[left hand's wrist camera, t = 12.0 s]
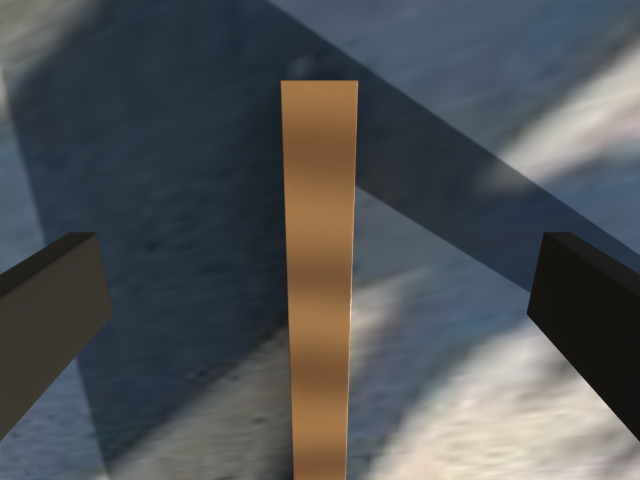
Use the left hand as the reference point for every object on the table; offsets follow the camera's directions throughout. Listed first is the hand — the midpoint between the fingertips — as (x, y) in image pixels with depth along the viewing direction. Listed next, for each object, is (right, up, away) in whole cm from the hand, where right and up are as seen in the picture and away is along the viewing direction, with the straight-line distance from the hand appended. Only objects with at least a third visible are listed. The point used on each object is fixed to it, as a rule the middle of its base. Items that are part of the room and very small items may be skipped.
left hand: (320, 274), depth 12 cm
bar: (0, -17, +33) cm, 37 cm away
